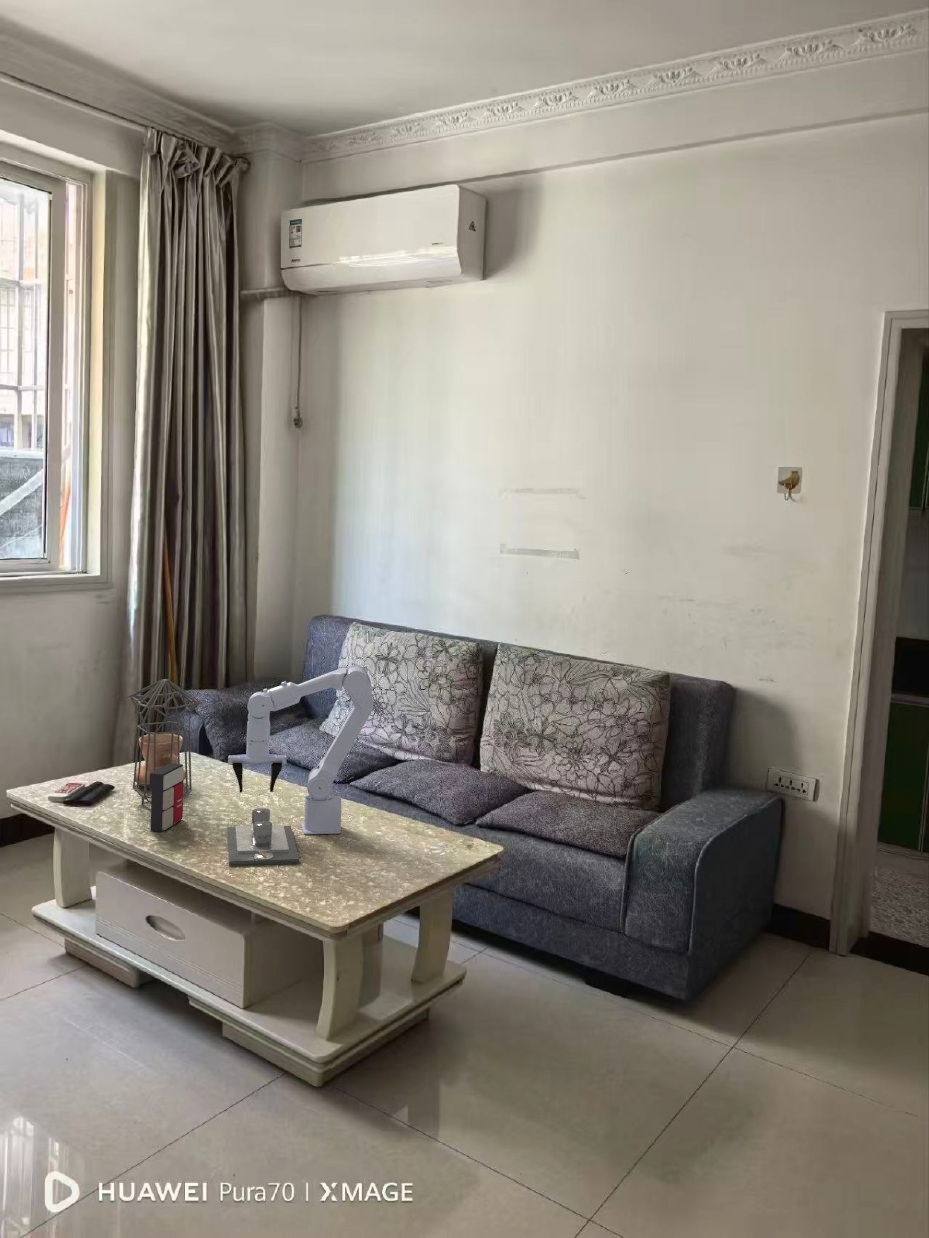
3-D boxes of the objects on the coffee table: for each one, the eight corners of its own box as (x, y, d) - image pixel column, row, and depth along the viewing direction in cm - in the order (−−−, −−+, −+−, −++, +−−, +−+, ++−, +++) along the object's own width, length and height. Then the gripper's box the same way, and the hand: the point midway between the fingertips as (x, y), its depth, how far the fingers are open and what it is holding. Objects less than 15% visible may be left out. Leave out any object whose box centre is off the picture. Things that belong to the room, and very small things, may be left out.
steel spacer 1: (268, 827, 253) (269, 808, 253) (269, 832, 249) (270, 813, 248) (251, 827, 252) (252, 808, 252) (251, 833, 248) (252, 813, 247)
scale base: (290, 830, 257) (290, 824, 257) (298, 863, 234) (299, 857, 234) (227, 831, 253) (227, 825, 253) (229, 866, 230) (229, 859, 230)
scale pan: (283, 827, 256) (283, 824, 256) (288, 851, 238) (288, 849, 238) (235, 828, 253) (235, 825, 252) (237, 853, 235) (237, 850, 235)
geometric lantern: (178, 794, 281) (181, 672, 277) (200, 810, 269) (204, 682, 265) (122, 802, 271) (125, 675, 267) (142, 818, 259) (146, 686, 255)
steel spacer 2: (266, 839, 244) (267, 819, 243) (274, 845, 240) (275, 825, 240) (249, 842, 241) (250, 822, 241) (257, 847, 238) (258, 827, 237)
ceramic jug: (124, 781, 290) (125, 734, 289) (172, 775, 299) (173, 729, 298) (147, 798, 276) (149, 748, 275) (197, 791, 286) (198, 742, 284)
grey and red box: (163, 833, 249) (165, 774, 248) (147, 830, 250) (149, 772, 248) (184, 820, 260) (186, 764, 258) (169, 818, 261) (170, 762, 259)
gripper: (285, 735, 260) (283, 786, 261) (228, 735, 256) (226, 786, 258) (287, 742, 253) (285, 794, 255) (229, 742, 249) (227, 795, 251)
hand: (256, 791), depth 256 cm, fingers open, 7 cm apart
